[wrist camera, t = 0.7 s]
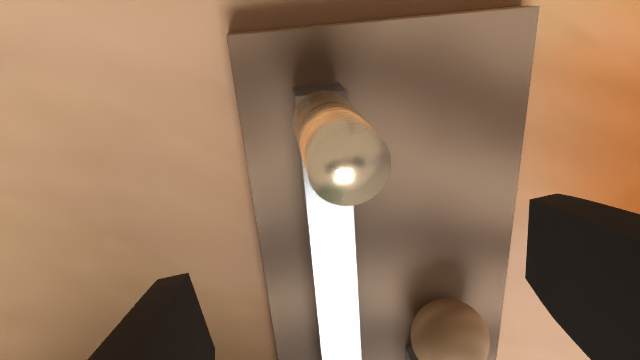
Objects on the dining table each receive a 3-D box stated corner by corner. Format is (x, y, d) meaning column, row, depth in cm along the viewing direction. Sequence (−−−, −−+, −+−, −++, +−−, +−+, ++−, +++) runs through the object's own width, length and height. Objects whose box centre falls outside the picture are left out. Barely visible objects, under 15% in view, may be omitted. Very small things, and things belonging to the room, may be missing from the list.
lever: (359, 379, 23) (394, 507, 17) (318, 386, 23) (341, 519, 17) (342, 77, 16) (391, 121, 11) (285, 83, 16) (303, 132, 10)
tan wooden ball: (456, 271, 21) (494, 322, 18) (475, 321, 22) (513, 376, 19) (390, 302, 21) (415, 358, 18) (413, 349, 23) (440, 408, 19)
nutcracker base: (483, 362, 26) (523, 426, 22) (285, 398, 24) (291, 473, 21) (521, 5, 17) (596, 8, 14) (228, 33, 16) (221, 44, 12)
